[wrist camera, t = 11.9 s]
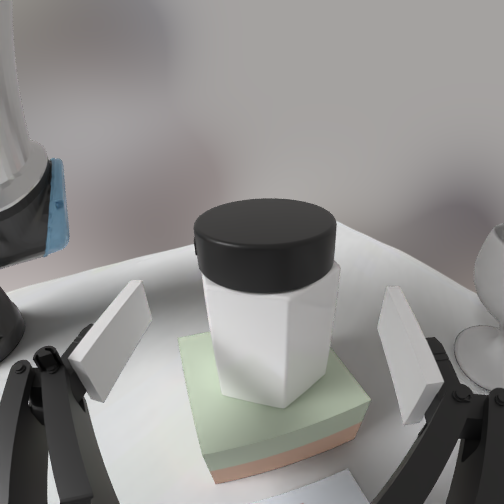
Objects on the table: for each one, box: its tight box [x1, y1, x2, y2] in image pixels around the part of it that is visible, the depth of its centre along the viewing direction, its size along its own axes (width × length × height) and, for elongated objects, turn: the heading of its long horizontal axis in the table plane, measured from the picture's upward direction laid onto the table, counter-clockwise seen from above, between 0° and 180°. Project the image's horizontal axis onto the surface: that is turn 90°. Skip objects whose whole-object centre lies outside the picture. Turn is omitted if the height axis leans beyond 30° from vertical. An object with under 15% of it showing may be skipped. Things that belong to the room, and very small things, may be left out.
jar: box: [194, 199, 341, 409], centre depth 20 cm, size 9×8×12 cm
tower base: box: [178, 332, 371, 484], centre depth 23 cm, size 12×12×6 cm
